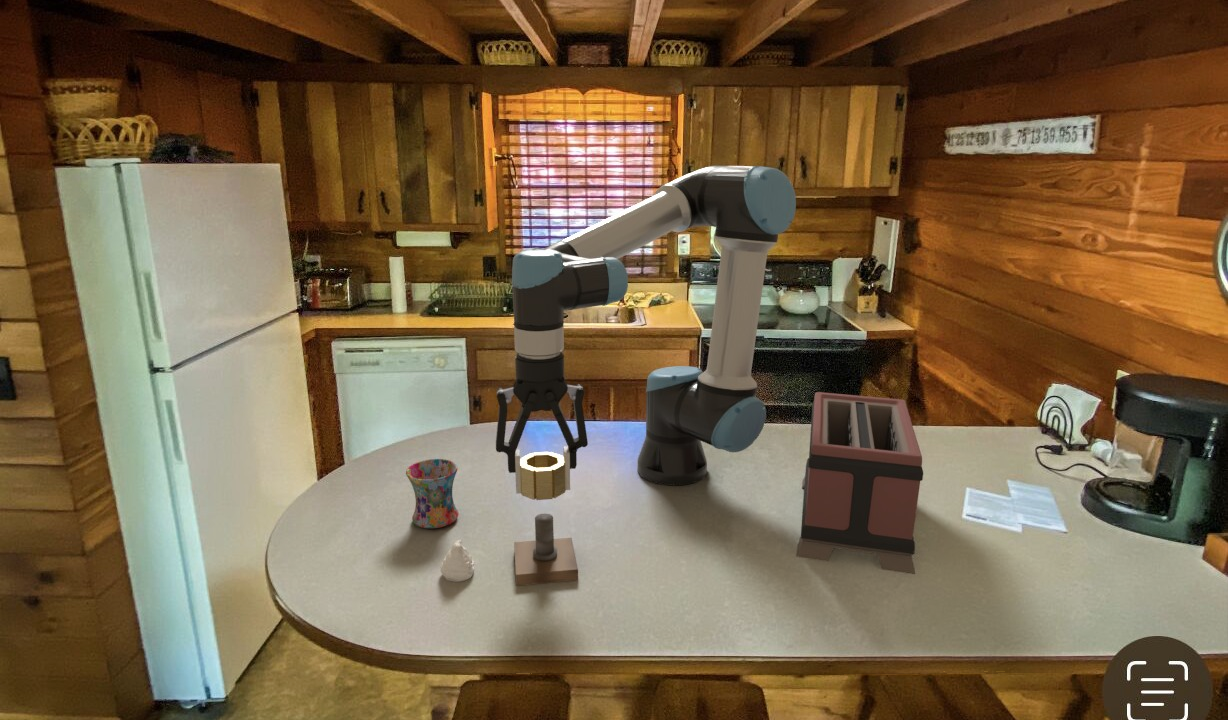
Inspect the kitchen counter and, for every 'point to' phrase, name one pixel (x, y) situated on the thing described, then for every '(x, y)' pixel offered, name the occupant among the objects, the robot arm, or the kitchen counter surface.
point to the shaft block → (545, 556)
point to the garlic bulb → (457, 564)
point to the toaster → (861, 480)
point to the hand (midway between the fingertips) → (542, 487)
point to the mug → (433, 492)
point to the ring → (542, 475)
